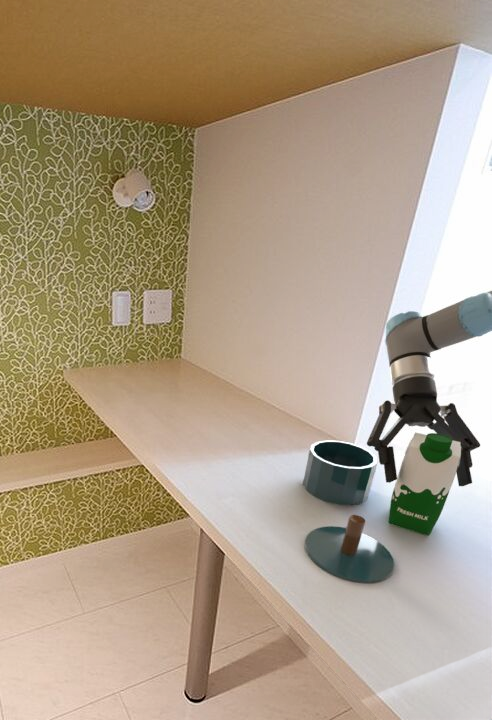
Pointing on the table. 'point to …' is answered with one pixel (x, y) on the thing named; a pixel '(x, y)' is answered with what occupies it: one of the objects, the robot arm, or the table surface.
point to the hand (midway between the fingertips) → (428, 482)
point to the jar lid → (349, 552)
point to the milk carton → (424, 482)
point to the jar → (339, 472)
